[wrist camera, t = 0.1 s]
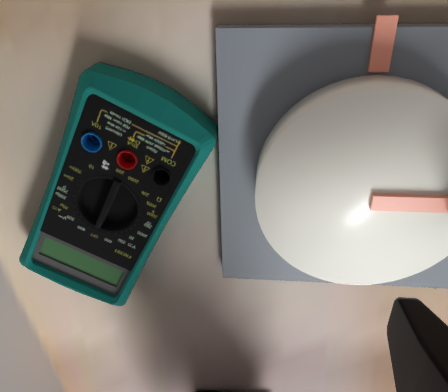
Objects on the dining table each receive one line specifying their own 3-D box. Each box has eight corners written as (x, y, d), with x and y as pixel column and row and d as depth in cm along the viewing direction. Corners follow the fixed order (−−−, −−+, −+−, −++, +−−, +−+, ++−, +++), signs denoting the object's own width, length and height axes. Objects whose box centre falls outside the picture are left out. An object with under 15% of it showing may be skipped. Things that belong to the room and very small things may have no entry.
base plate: (461, 278, 26) (469, 291, 25) (224, 267, 27) (222, 279, 26) (558, 10, 18) (575, 14, 17) (217, 13, 19) (214, 17, 18)
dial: (443, 265, 24) (501, 370, 18) (254, 257, 25) (249, 354, 19) (505, 75, 18) (619, 136, 12) (258, 74, 19) (252, 130, 13)
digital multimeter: (228, 114, 22) (222, 135, 20) (131, 286, 30) (118, 318, 27) (102, 46, 21) (80, 59, 19) (34, 243, 29) (11, 271, 26)
